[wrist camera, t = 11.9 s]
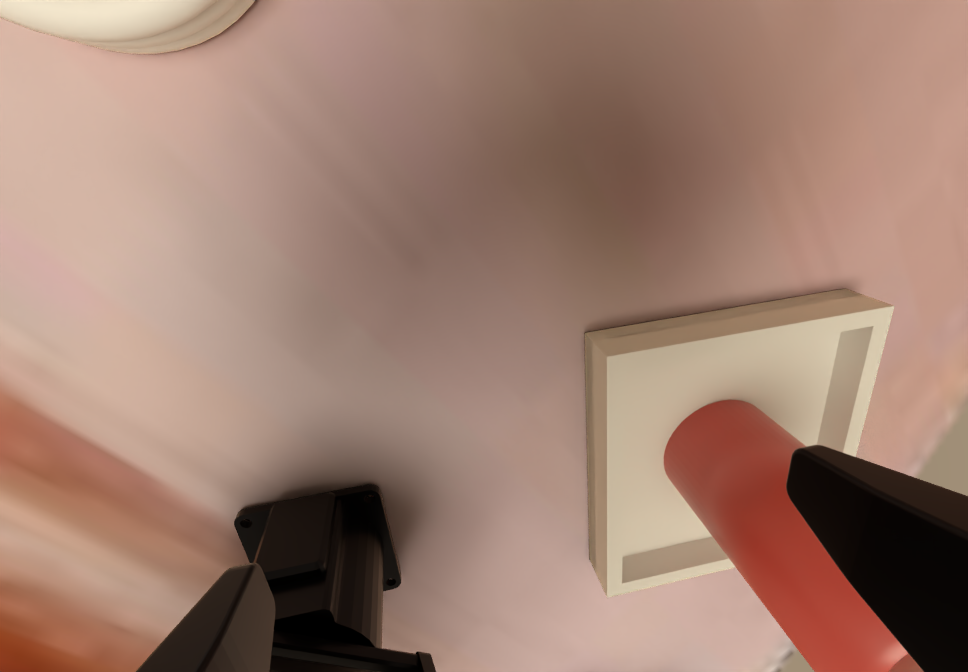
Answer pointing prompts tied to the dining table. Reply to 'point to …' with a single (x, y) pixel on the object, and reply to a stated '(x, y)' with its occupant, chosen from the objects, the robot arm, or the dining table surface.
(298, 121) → the dining table surface
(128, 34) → the cream round disc
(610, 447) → the tray
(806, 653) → the squeeze bottle
